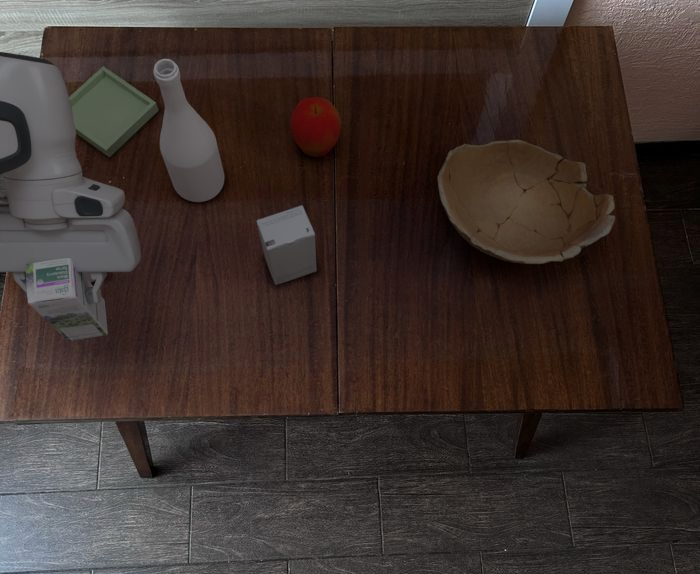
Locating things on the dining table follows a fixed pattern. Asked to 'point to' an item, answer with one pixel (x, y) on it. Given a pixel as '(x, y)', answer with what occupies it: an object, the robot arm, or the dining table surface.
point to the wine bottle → (187, 141)
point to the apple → (315, 126)
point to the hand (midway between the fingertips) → (66, 302)
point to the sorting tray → (109, 111)
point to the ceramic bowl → (522, 202)
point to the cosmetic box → (288, 244)
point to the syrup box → (64, 299)
